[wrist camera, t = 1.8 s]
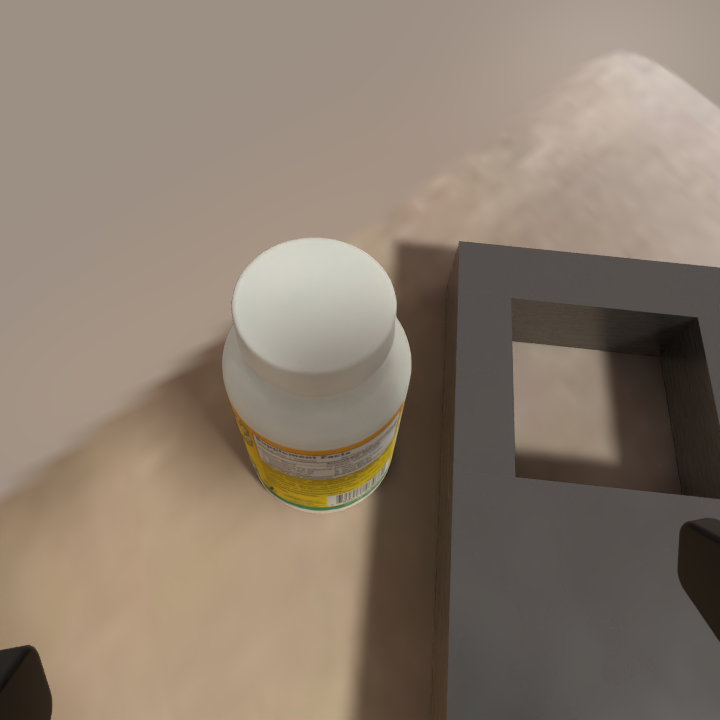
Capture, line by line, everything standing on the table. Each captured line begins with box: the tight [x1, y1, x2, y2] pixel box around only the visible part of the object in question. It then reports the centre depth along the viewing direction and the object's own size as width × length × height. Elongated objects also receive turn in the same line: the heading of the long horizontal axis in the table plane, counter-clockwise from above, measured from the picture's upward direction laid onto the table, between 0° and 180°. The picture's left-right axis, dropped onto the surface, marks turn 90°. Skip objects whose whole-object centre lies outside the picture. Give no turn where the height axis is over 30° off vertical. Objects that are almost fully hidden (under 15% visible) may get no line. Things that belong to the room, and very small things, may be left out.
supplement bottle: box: [222, 238, 411, 514], centre depth 19 cm, size 5×5×10 cm
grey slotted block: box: [431, 241, 720, 720], centre depth 20 cm, size 20×11×3 cm, turn 174°
